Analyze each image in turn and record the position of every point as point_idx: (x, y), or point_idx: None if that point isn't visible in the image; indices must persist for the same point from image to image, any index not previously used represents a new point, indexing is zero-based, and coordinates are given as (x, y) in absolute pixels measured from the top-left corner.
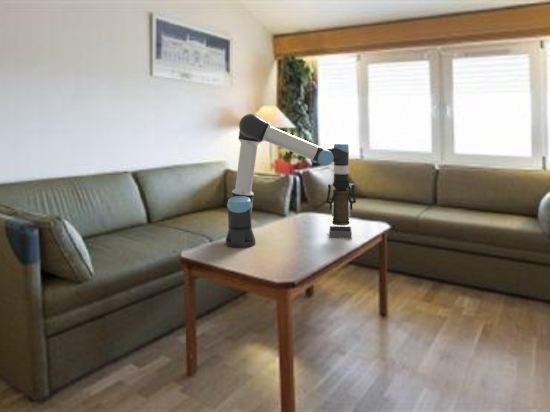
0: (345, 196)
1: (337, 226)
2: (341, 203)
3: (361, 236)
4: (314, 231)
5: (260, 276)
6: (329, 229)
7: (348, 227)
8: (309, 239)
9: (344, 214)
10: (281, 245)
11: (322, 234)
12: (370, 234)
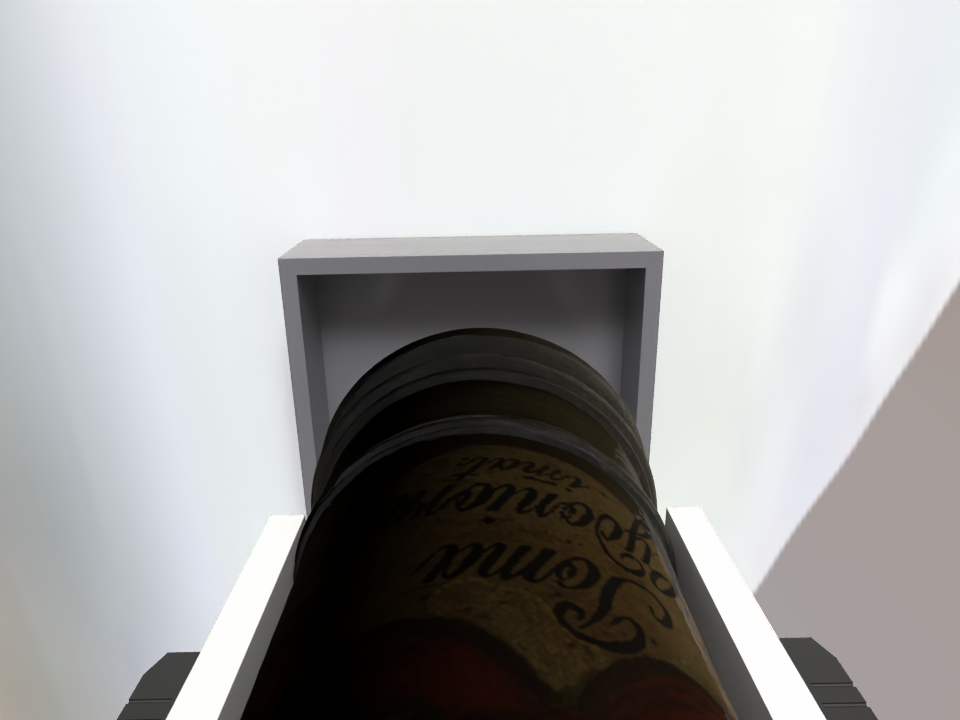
0: None
1: (419, 262)
2: None
3: (765, 413)
4: (49, 196)
5: None
6: (302, 476)
7: (614, 264)
8: (97, 612)
9: None
10: None
11: (213, 365)
12: (918, 293)
